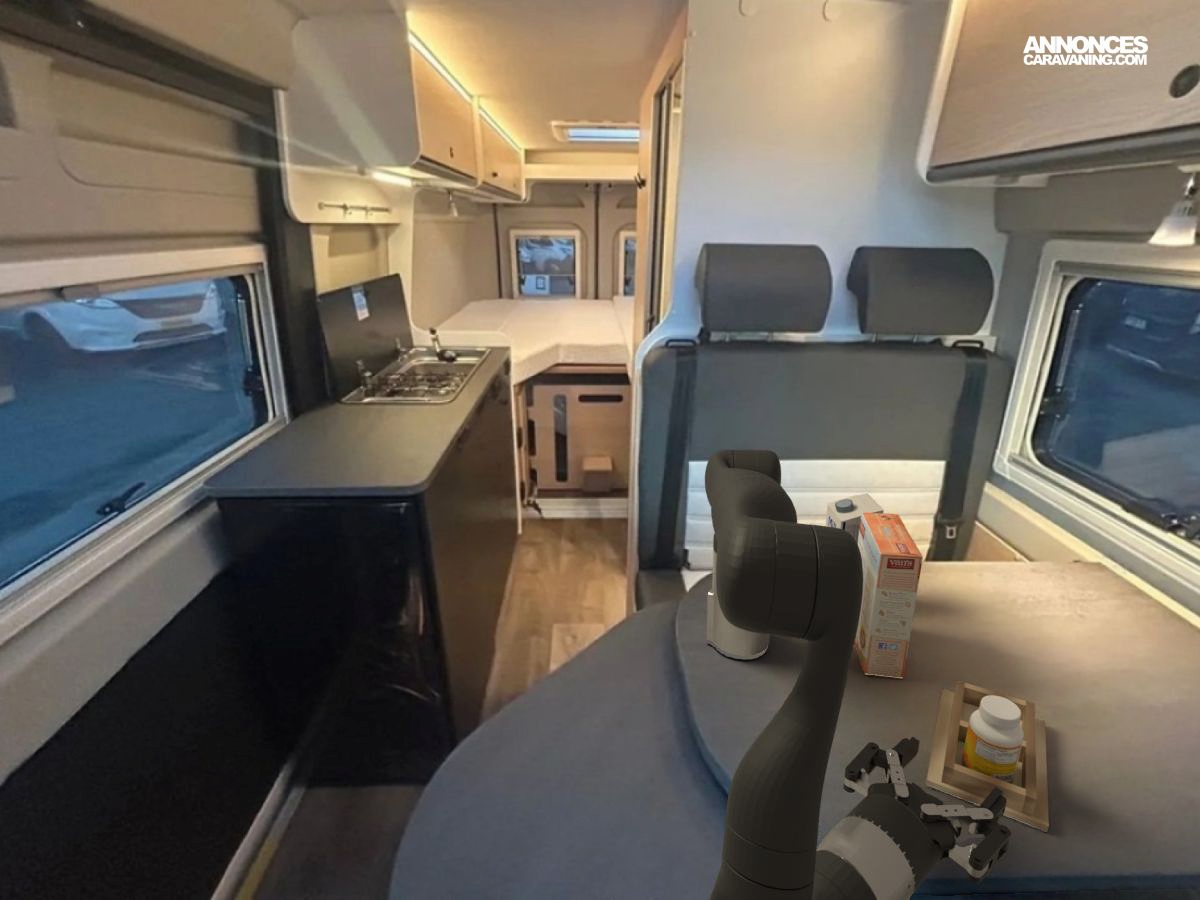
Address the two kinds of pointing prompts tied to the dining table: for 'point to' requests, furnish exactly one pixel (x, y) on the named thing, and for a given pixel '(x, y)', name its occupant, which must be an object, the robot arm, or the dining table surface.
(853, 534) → the milk carton
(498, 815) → the dining table surface
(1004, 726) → the supplement bottle
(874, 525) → the cracker box
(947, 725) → the tray
